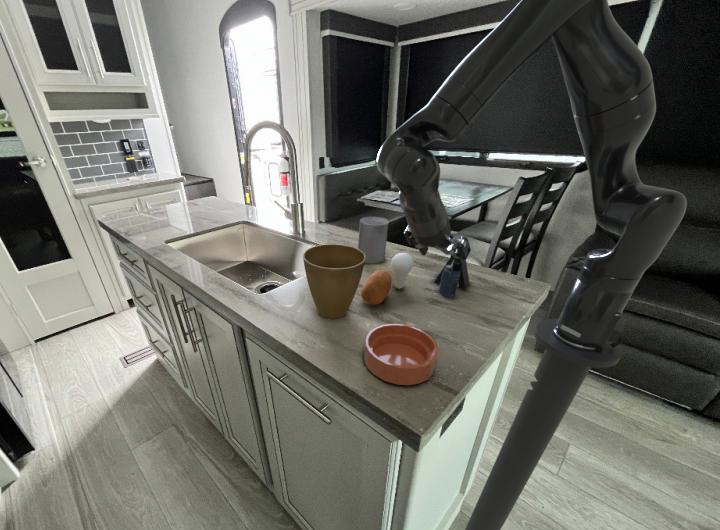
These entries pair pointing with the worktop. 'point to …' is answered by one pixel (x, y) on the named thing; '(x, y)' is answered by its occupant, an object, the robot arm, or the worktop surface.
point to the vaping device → (450, 279)
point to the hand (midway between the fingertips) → (441, 256)
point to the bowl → (400, 354)
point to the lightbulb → (401, 268)
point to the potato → (376, 287)
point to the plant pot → (333, 277)
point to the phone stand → (463, 274)
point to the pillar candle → (373, 238)
